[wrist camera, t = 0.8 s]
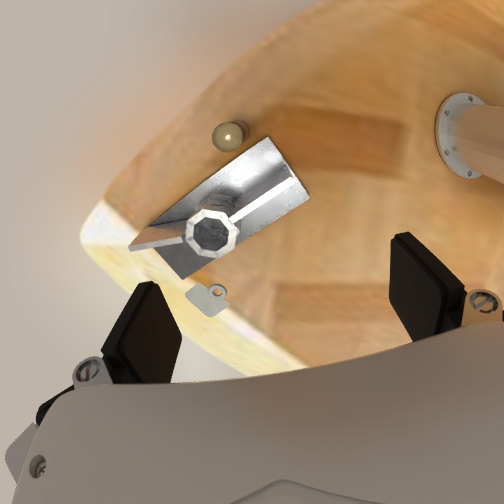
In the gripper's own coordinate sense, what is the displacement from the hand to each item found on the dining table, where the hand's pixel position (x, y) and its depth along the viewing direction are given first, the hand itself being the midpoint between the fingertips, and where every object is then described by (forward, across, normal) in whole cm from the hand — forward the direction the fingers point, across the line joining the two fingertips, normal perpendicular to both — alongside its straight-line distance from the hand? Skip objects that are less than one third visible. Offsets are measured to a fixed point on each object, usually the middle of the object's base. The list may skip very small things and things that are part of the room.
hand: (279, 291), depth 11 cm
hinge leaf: (+25, +10, +4) cm, 27 cm away
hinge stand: (+26, +6, +4) cm, 27 cm away
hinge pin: (+26, +2, -5) cm, 26 cm away
